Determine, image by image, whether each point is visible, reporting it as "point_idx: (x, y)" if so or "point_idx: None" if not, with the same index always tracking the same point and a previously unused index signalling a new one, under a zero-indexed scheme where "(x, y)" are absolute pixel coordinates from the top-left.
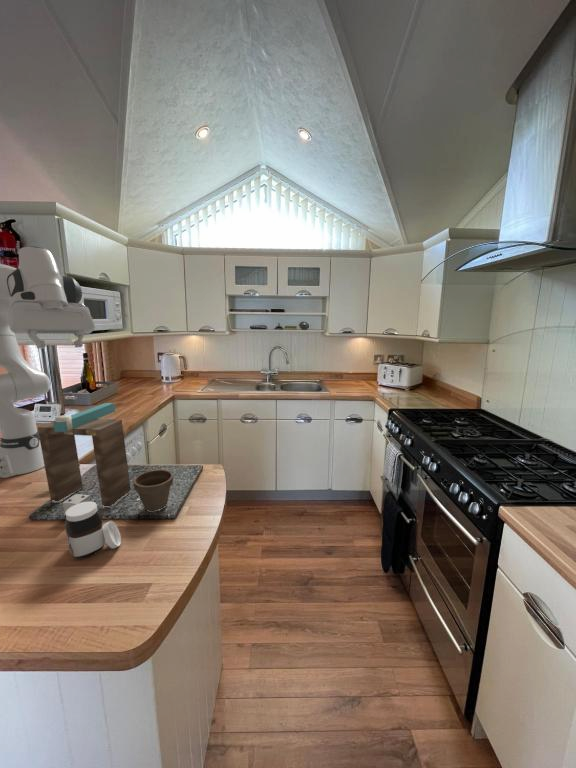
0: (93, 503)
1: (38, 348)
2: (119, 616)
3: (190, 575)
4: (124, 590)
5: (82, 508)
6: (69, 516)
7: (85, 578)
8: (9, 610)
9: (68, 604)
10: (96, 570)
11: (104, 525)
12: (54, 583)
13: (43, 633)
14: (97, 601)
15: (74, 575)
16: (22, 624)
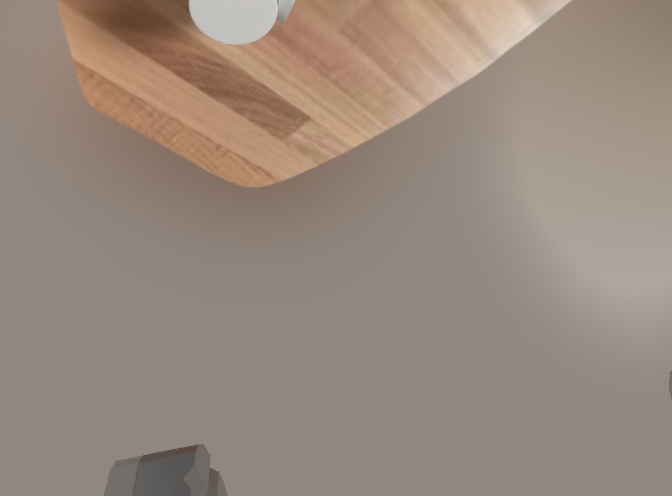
0: (271, 2)
1: (133, 461)
2: (244, 143)
3: (367, 139)
4: (266, 105)
5: (237, 9)
6: (198, 28)
7: None
8: (68, 23)
9: (175, 77)
10: None
11: (281, 2)
12: (149, 4)
13: (137, 109)
14: (221, 100)
15: None
16: (100, 72)
